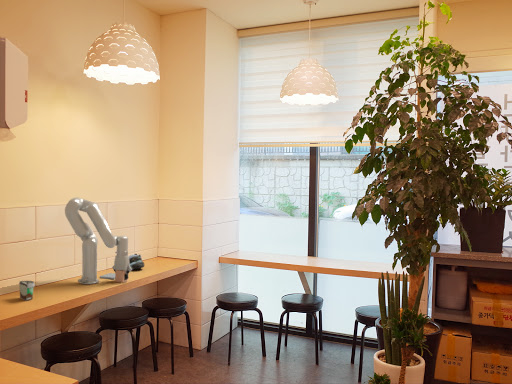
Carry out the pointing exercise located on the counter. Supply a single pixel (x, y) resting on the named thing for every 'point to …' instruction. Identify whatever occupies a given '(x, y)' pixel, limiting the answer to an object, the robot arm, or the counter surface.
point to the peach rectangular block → (120, 276)
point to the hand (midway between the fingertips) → (121, 278)
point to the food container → (26, 290)
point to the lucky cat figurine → (136, 261)
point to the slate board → (108, 276)
